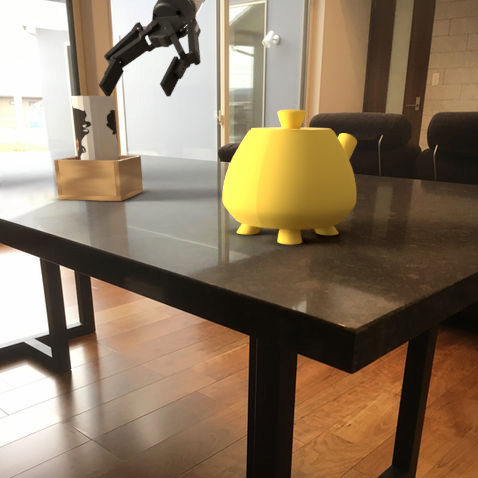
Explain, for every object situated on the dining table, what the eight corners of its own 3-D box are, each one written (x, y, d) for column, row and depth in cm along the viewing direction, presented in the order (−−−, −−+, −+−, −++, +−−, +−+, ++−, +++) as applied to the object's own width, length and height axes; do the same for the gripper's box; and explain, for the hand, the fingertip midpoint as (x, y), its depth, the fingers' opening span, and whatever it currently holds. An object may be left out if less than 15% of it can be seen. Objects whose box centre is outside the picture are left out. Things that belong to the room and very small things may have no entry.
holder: (58, 199, 86) (53, 159, 83) (86, 190, 96) (82, 154, 93) (121, 201, 84) (118, 160, 82) (143, 191, 94) (140, 155, 92)
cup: (124, 187, 93) (116, 96, 87) (119, 193, 87) (110, 95, 81) (85, 188, 93) (75, 96, 87) (78, 193, 86) (66, 95, 81)
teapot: (303, 211, 76) (308, 109, 70) (398, 227, 65) (412, 109, 60) (196, 231, 63) (192, 109, 58) (293, 255, 52) (299, 109, 47)
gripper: (241, 21, 97) (201, 107, 90) (135, 29, 108) (92, 106, 101) (228, -18, 91) (183, 71, 84) (116, -5, 101) (69, 75, 95)
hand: (133, 90), depth 92 cm, fingers open, 13 cm apart
